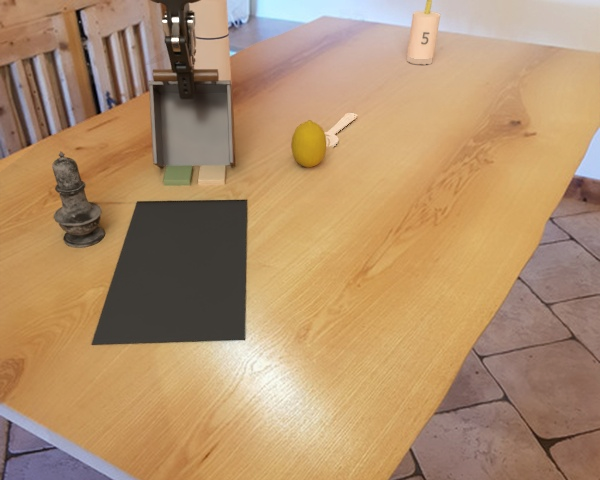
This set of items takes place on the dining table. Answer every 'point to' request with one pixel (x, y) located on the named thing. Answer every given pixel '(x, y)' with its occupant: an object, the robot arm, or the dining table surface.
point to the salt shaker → (75, 206)
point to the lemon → (309, 144)
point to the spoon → (338, 129)
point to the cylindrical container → (212, 37)
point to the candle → (423, 33)
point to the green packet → (178, 175)
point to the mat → (179, 275)
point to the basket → (192, 120)
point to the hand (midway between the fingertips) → (188, 95)
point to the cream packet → (212, 175)
